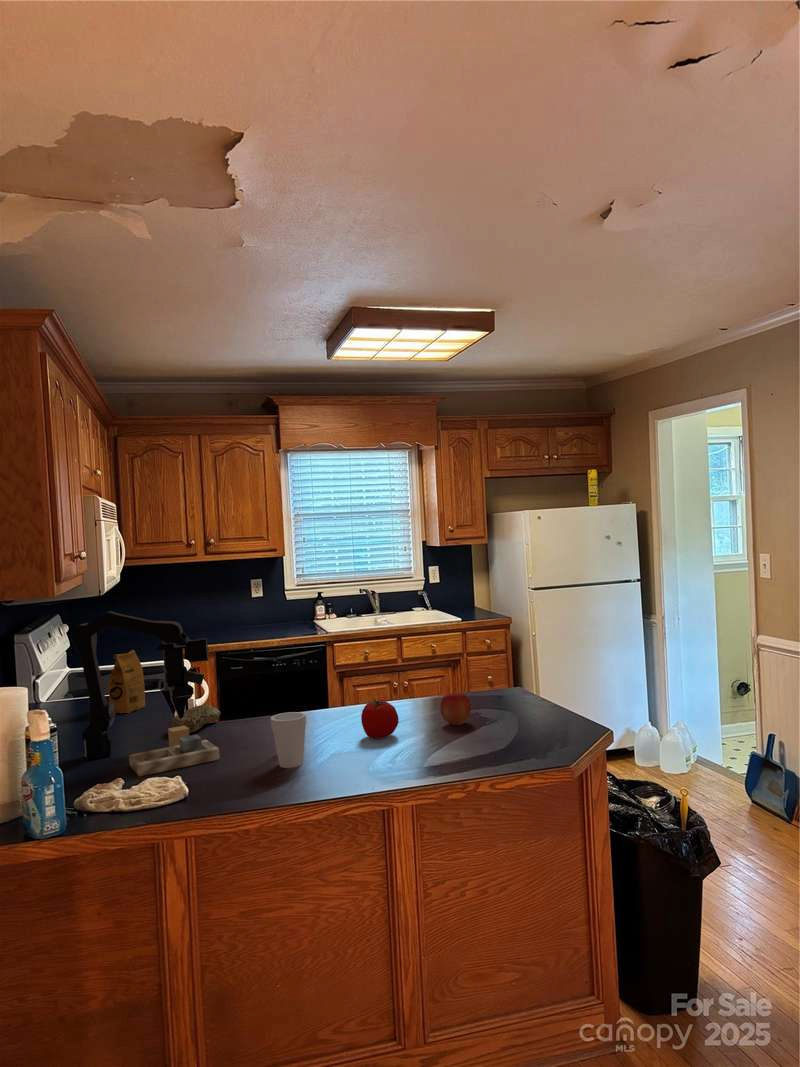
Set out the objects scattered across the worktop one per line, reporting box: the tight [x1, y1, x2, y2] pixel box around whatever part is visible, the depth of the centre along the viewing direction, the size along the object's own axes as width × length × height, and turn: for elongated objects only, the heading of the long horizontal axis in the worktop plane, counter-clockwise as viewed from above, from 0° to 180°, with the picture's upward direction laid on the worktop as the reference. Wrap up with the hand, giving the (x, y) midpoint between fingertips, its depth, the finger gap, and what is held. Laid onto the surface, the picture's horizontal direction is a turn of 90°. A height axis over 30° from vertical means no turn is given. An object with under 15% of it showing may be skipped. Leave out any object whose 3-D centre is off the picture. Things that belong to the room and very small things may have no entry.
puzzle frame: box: [128, 734, 221, 777], centre depth 214 cm, size 22×12×6 cm, turn 121°
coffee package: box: [107, 649, 146, 715], centre depth 286 cm, size 10×12×22 cm
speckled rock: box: [171, 704, 221, 734], centre depth 252 cm, size 13×8×20 cm
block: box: [167, 726, 190, 747], centre depth 229 cm, size 5×5×6 cm
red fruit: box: [360, 698, 399, 739], centre depth 226 cm, size 12×12×11 cm
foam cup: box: [270, 711, 307, 769], centre depth 205 cm, size 10×9×13 cm
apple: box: [439, 691, 472, 726], centre depth 236 cm, size 10×10×10 cm
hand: (177, 715), depth 229 cm, fingers open, 9 cm apart
